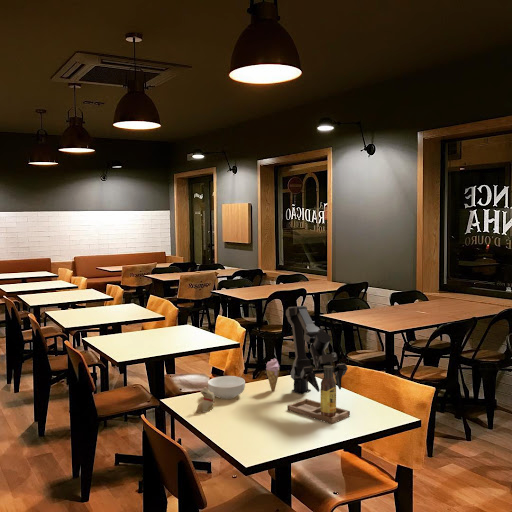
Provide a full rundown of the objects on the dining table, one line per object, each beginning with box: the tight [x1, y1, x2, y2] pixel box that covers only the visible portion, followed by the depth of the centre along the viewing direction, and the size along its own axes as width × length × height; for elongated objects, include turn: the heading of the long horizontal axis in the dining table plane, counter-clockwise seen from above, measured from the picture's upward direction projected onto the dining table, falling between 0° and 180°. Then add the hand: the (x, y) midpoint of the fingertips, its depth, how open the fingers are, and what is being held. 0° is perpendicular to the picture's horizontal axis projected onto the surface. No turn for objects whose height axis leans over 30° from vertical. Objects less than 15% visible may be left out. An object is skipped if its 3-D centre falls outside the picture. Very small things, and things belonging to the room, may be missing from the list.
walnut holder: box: [286, 398, 351, 425], centre depth 231 cm, size 12×23×2 cm, turn 44°
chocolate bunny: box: [196, 386, 215, 413], centre depth 237 cm, size 6×8×10 cm
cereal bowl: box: [207, 375, 246, 400], centre depth 255 cm, size 17×17×7 cm
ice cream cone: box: [265, 357, 281, 392], centre depth 261 cm, size 7×6×15 cm
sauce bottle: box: [320, 365, 337, 417], centre depth 227 cm, size 7×6×20 cm
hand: (329, 390), depth 225 cm, fingers open, 9 cm apart
